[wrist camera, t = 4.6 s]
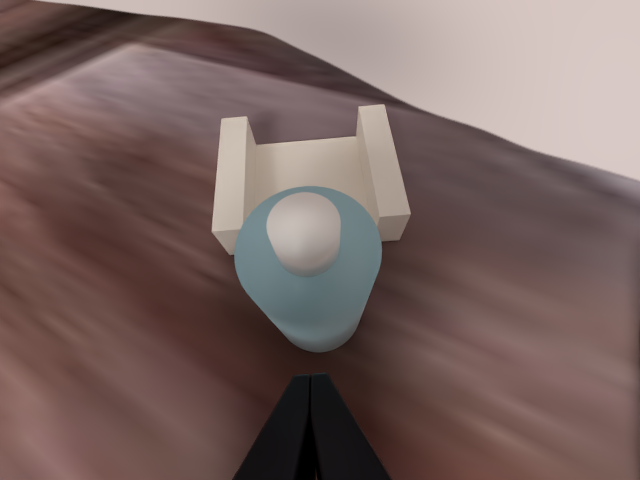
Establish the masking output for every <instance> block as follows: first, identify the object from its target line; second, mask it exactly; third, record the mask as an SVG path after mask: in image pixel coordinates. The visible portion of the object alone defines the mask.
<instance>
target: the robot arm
mask: <svg viewBox="0 0 640 480" xmlns="http://www.w3.org/2000/svg"><path fill="white" fill-rule="evenodd" d="M316 473H317V480H392V478H391V477H390V475H389V473H388V472H387V470H386V468H385V467H384V465H383V463H382V462H381V460H380V459H379V457H378V455H377V454H376V452H375V450H374V449H373V447H372V445H371V444H370V442H369V440H368V439H367V437H366V435H365V434H364V432H363V430H362V429H361V427H360V426H359V424H358V422H357V421H356V419H355V417H354V416H353V414H352V412H351V411H350V409H349V407H348V406H347V404H346V402H345V401H344V399H343V398H342V396H341V394H340V393H339V391H338V389H337V388H336V386H335V384H334V383H333V381H332V379H331V378H330V376H329V375H328V374H327V373H314V374H312V375H311V376H310V375H309V374H302V375H295V376H293V377H292V379H291V381H290V382H289V384H288V386H287V388H286V389H285V391H284V393H283V394H282V396H281V398H280V399H279V401H278V403H277V405H276V406H275V408H274V410H273V411H272V413H271V415H270V416H269V418H268V420H267V421H266V423H265V425H264V427H263V428H262V430H261V432H260V433H259V435H258V437H257V438H256V440H255V442H254V444H253V445H252V447H251V449H250V450H249V452H248V454H247V455H246V457H245V459H244V461H243V462H242V464H241V466H240V467H239V469H238V471H237V472H236V474H235V476H234V478H233V479H232V480H316Z"/></svg>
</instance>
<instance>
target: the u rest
mask: <svg viewBox="0 0 640 480" xmlns="http://www.w3.org/2000/svg"><path fill="white" fill-rule="evenodd" d="M303 186H319V187H326V188H330V189H334V190H337V191H340V192H342V193H344V194H346V195H348V196H350V197H351V198H353V199H354V200H356V201H357V202H358V203H359V204H361V205H362V206H363V207H364V208H365V209H366V210H367V212H368V213H369V214H370V216H371V217H372V218H373V220H374V222H375V224H376V226H377V229H378V231H379V234H380V239H381V242H382V241H393V240H400V238H401V236H402V233H403V231H404V229H405V227H406V224H407V222H408V220H409V217H410V215H411V212H410V208H409V204H408V200H407V196H406V192H405V188H404V183H403V179H402V175H401V171H400V167H399V163H398V159H397V155H396V151H395V146H394V142H393V138H392V134H391V130H390V126H389V122H388V118H387V113H386V109H385V105H384V104H381V105H370V106H359V109H358V120H357V131H356V136H352V137H341V138H329V139H318V140H307V141H295V142H284V143H273V144H261V145H256V143H255V140H254V137H253V134H252V131H251V127H250V124H249V121H248V118H247V116H245V117H233V118H222V119H221V130H220V141H219V153H218V164H217V176H216V187H215V199H214V210H213V222H212V233H213V234H214V235H215V237H216V238H217V239H218V241H219V242H220V243H221V244H222V246H223V247H224V248H225V250H226V251H227V252H228V254H229V255H234V251H235V244H236V240H237V236H238V233H239V231H240V229H241V227H242V225H243V223H244V221H245V220H246V218H247V217H248V216H249V215H250V213H251V212H252V211H253V210H254V209H255V208H256V207H257V206H258V205H259V204H261V203H262V202H263V201H265V200H266V199H268V198H269V197H271V196H273V195H275V194H277V193H279V192H281V191H284V190H287V189H291V188H296V187H303Z"/></svg>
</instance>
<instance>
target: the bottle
mask: <svg viewBox="0 0 640 480" xmlns="http://www.w3.org/2000/svg"><path fill="white" fill-rule="evenodd" d="M381 258H382V244H381V239H380V234H379V231H378V229H377V226H376V224H375V222H374V220H373V218H372V217H371V216H370V214H369V213H368V212H367V210H366V209H365V208H364V207H363V206H362V205H361V204H359V203H358V202H357V201H356V200H354V199H353V198H351V197H350V196H348V195H346V194H344V193H342V192H340V191H337V190H334V189H330V188H326V187H319V186H303V187H296V188H291V189H287V190H284V191H281V192H279V193H277V194H275V195H273V196H271V197H269V198H268V199H266V200H265V201H263V202H262V203H261V204H259V205H258V206H257V207H256V208H255V209H254V210H253V211H252V212H251V213H250V215H249V216H248V217H247V218H246V220H245V221H244V223H243V225H242V227H241V229H240V231H239V233H238V236H237V240H236V244H235V251H234V261H235V268H236V272H237V276H238V278H239V280H240V283H241V285H242V286H243V288H244V290H245V291H246V293H247V294H248V295H249V296H250V297H251V299H252V300H253V301H254V302H255V303H256V304H257V305H258V307H259V308H260V309H261V310H262V311H263V312H264V313H265V314H266V315H267V317H268V318H269V319H270V320H271V321H272V322H273V323H274V324H275V325H276V327H277V328H278V329H279V330H280V331H281V332H282V333H283V334H284V336H285V337H286V338H287V339H288V340H289V341H290V342H291V343H292V344H294V345H295V346H297V347H299V348H301V349H303V350H306V351H310V352H327V351H331V350H334V349H336V348H338V347H340V346H342V345H343V344H344V343H346V342H347V341H348V340H349V339H350V338H351V336H352V335H353V334H354V332H355V330H356V329H357V326H358V324H359V321H360V319H361V316H362V313H363V311H364V308H365V306H366V303H367V300H368V298H369V295H370V292H371V290H372V287H373V285H374V282H375V279H376V277H377V274H378V272H379V268H380V264H381Z"/></svg>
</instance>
